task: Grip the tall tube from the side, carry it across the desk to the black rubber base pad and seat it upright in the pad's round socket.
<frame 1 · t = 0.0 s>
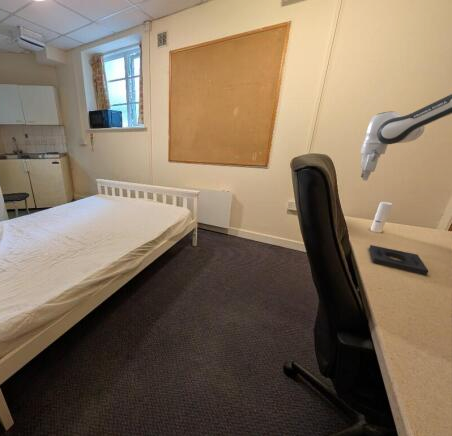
hand: (363, 178, 109), 26 cm above the table, tool pointing down, fingers open, 8 cm apart
base pad: (394, 260, 86), on the table
tube: (375, 231, 113), on the table
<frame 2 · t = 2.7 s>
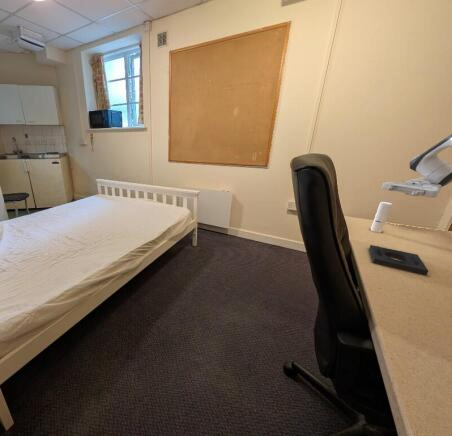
hand: (401, 191, 110), 20 cm above the table, tool horizontal, fingers open, 8 cm apart
nothing on the table moved.
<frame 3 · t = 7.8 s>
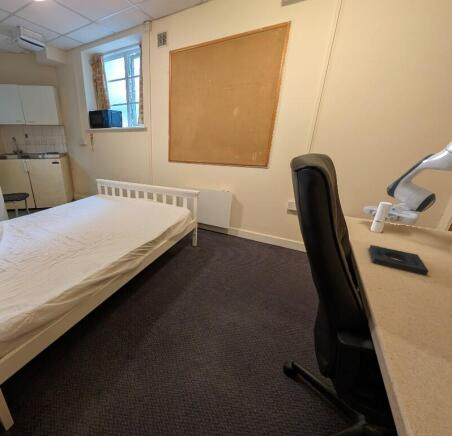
hand: (380, 216, 110), 8 cm above the table, tool horizontal, fingers closed on tube, 4 cm apart
tube: (375, 231, 113), on the table, touching gripper
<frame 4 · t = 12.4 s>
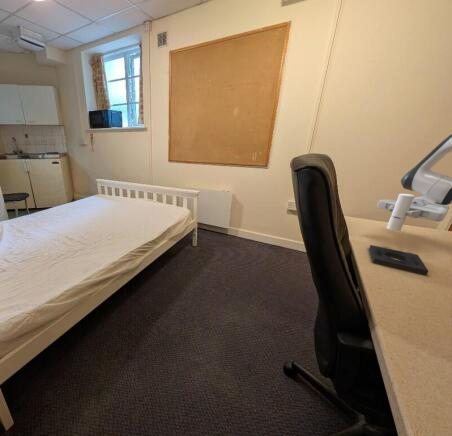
hand: (399, 211, 91), 17 cm above the table, tool horizontal, fingers closed on tube, 4 cm apart
tube: (393, 229, 94), point 9 cm above the table, touching gripper
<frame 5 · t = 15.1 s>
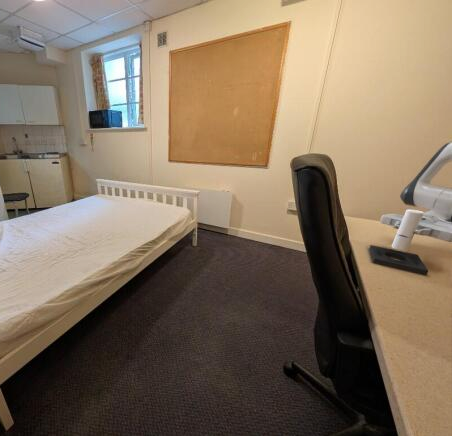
hand: (406, 229, 81), 14 cm above the table, tool horizontal, fingers closed on tube, 4 cm apart
tube: (399, 248, 84), point 5 cm above the table, touching gripper
when the fingers open (8 cm above the table, at t = 17.0 s): tube stays where it is, resting in base pad.
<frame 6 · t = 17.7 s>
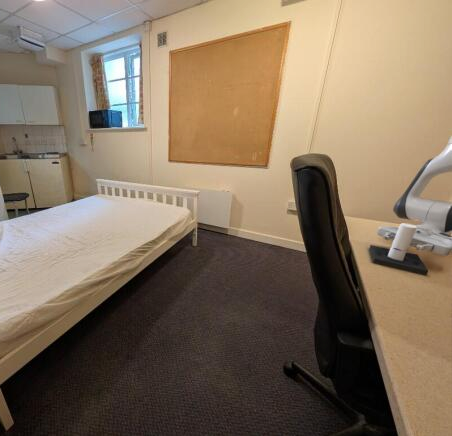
hand: (401, 242, 83), 8 cm above the table, tool horizontal, fingers open, 8 cm apart
tube: (393, 261, 86), resting in base pad
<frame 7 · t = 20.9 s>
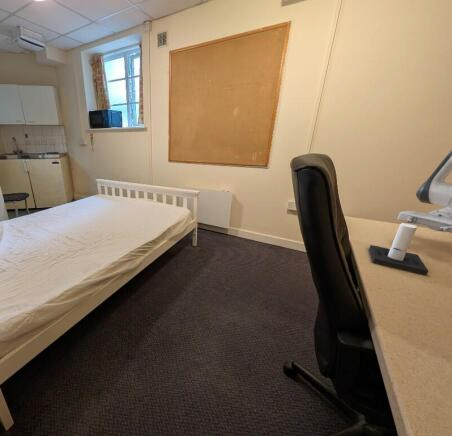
hand: (424, 225, 85), 13 cm above the table, tool horizontal, fingers open, 8 cm apart
nothing on the table moved.
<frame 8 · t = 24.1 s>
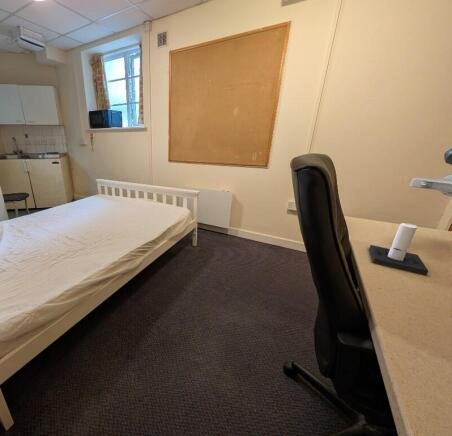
hand: (440, 188, 81), 28 cm above the table, tool horizontal, fingers open, 8 cm apart
nothing on the table moved.
at the end: tube 0.2 cm off-centre in the base pad, point 0.0 cm above the base pad's base; tube tilted 0°; the gripper is holding nothing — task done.
